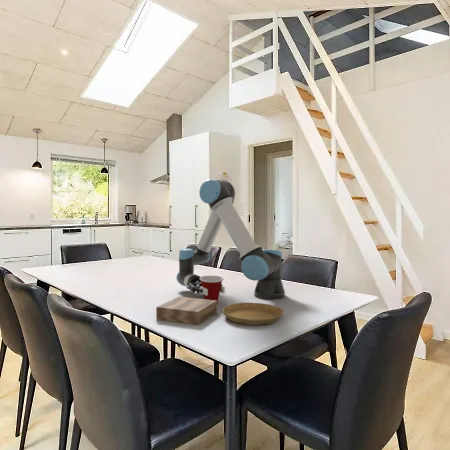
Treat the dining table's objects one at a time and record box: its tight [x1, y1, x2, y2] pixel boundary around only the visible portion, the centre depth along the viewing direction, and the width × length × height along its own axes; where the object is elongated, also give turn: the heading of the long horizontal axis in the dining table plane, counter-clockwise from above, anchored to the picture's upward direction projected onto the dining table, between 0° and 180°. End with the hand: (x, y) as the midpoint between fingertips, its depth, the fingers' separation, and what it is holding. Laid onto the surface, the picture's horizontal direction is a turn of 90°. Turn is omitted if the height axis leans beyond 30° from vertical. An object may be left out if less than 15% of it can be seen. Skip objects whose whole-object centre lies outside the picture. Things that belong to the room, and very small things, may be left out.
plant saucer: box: [222, 302, 284, 326], centre depth 146 cm, size 24×24×3 cm
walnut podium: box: [155, 296, 218, 326], centre depth 148 cm, size 18×18×5 cm
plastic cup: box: [200, 274, 224, 304], centre depth 167 cm, size 11×11×12 cm
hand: (215, 291), depth 162 cm, fingers closed on plastic cup, 8 cm apart
